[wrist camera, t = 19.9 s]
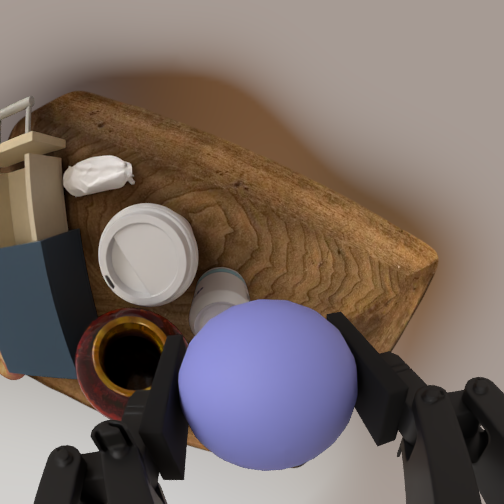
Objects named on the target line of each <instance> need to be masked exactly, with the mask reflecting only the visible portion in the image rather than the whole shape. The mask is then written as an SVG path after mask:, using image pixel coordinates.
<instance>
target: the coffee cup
mask: <svg viewBox="0 0 504 504" xmlns="http://www.w3.org/2000/svg"><path fill="white" fill-rule="evenodd" d="M98 258H99V265H100V269H101V272H102V275H103V277H104V279H105V281H106V283H107V284H108V286H109V287H110V288H111V290H112V291H113V292H114V293H115V294H116V295H118V296H119V297H120V298H122V299H124V300H125V301H127V302H129V303H132V304H135V305H139V306H145V307H155V306H161V305H164V304H167V303H170V302H172V301H174V300H175V299H177V298H178V297H180V296H181V295H182V294H183V293H184V292H185V291H186V290H187V289H188V288H189V286H190V285H191V283H192V281H193V279H194V277H195V274H196V271H197V267H198V248H197V243H196V240H195V237H194V235H193V230H192V227H191V225H190V223H189V222H188V221H187V220H186V219H185V218H184V217H183V216H181V215H179V214H177V213H175V212H174V211H172V210H170V209H169V208H166V207H164V206H161V205H158V204H152V203H141V204H135V205H132V206H129V207H127V208H125V209H123V210H121V211H120V212H118V213H117V214H116V215H115V216H114V217H113V218H112V219H111V220H110V221H109V223H108V224H107V226H106V227H105V229H104V231H103V233H102V236H101V239H100V243H99V249H98Z"/></svg>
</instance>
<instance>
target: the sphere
mask: <svg viewBox="0 0 504 504" xmlns="http://www.w3.org/2000/svg"><path fill="white" fill-rule="evenodd" d="M178 384H179V399H180V406H181V410H182V413H183V415H184V417H185V418H186V420H187V422H188V424H189V426H190V428H191V429H192V431H193V433H194V435H195V437H196V438H197V439H198V440H199V441H200V442H201V443H202V444H203V445H204V446H205V447H206V448H208V449H209V450H210V451H211V452H213V453H214V454H215V455H217V456H218V457H220V458H221V459H223V460H225V461H227V462H230V463H232V464H235V465H237V466H240V467H243V468H248V469H255V470H262V471H269V470H282V469H286V468H290V467H294V466H298V465H301V464H303V463H305V462H307V461H309V460H311V459H313V458H315V457H317V456H318V455H319V454H320V453H322V452H323V451H325V450H326V449H327V448H329V447H330V446H331V445H332V444H333V443H334V442H335V441H336V440H337V438H338V437H339V436H340V434H341V433H342V432H343V431H344V429H345V428H346V426H347V424H348V423H349V421H350V418H351V415H352V412H353V409H354V407H355V403H356V400H357V396H358V382H357V367H356V363H355V359H354V356H353V354H352V353H351V351H350V349H349V347H348V345H347V343H346V342H345V340H344V338H343V336H342V334H341V333H340V331H339V330H338V329H337V328H336V327H335V326H334V325H333V324H331V323H330V322H329V321H328V320H326V319H325V318H324V317H323V316H321V315H320V314H319V313H317V312H316V311H315V310H313V309H310V308H308V307H305V306H302V305H299V304H296V303H293V302H290V301H287V300H264V299H258V300H254V301H250V302H247V303H243V304H239V305H235V306H232V307H230V308H228V309H227V310H225V311H223V312H222V313H220V314H218V315H217V316H215V317H213V318H212V319H210V320H209V321H208V322H207V323H206V324H205V325H204V327H203V328H202V329H201V330H200V331H199V332H198V333H197V335H196V336H195V337H194V338H193V339H192V340H191V342H190V343H189V345H188V348H187V351H186V353H185V356H184V359H183V362H182V364H181V367H180V370H179V377H178Z"/></svg>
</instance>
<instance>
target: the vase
mask: <svg viewBox="0 0 504 504" xmlns="http://www.w3.org/2000/svg"><path fill="white" fill-rule="evenodd" d="M171 335H182V333H181V332H180V331H179V330H178V329H177V328H176V326H175V325H173V324H172V323H171V322H170V321H169V320H167V319H166V318H164V317H162V316H161V315H159V314H157V313H154V312H152V311H149V310H145V309H141V308H121V309H115V310H113V311H110V312H107V313H105V314H103V315H102V316H100V317H98V318H97V319H96V320H95V321H93V322H92V323H91V324H90V325H89V326H88V328H87V329H86V330H85V332H84V333H83V335H82V337H81V339H80V341H79V344H78V347H77V351H76V358H75V367H76V375H77V379H78V382H79V385H80V387H81V390H82V392H83V393H84V395H85V397H86V398H87V400H88V401H89V402H90V403H91V405H92V406H93V407H94V408H95V409H96V410H97V411H99V412H100V413H101V414H102V415H104V416H105V417H107V418H108V419H110V420H119V421H121V419H122V416H123V414H124V411H125V408H126V405H127V402H128V400H129V397H130V396H131V395H132V394H133V393H134V392H135V391H136V390H150V389H151V386H152V383H153V379H154V376H155V373H156V370H157V366H158V363H159V360H160V357H161V354H162V351H163V348H164V344H165V341H166V338H167V336H171ZM183 339H184V343H185V348H186V351H187V348H188V343H187V341H186V339H185V338H184V336H183Z"/></svg>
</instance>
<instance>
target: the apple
mask: <svg viewBox="0 0 504 504" xmlns="http://www.w3.org/2000/svg"><path fill="white" fill-rule="evenodd" d="M0 374H1V375H2V376H4V377H6V378H8V379H10V380H17V379H20V378H22V377H23V376H24V374H16V373H9V371H8V369H7V367H6V364H5V362H4V360H3V357H2V355H1V352H0Z"/></svg>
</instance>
